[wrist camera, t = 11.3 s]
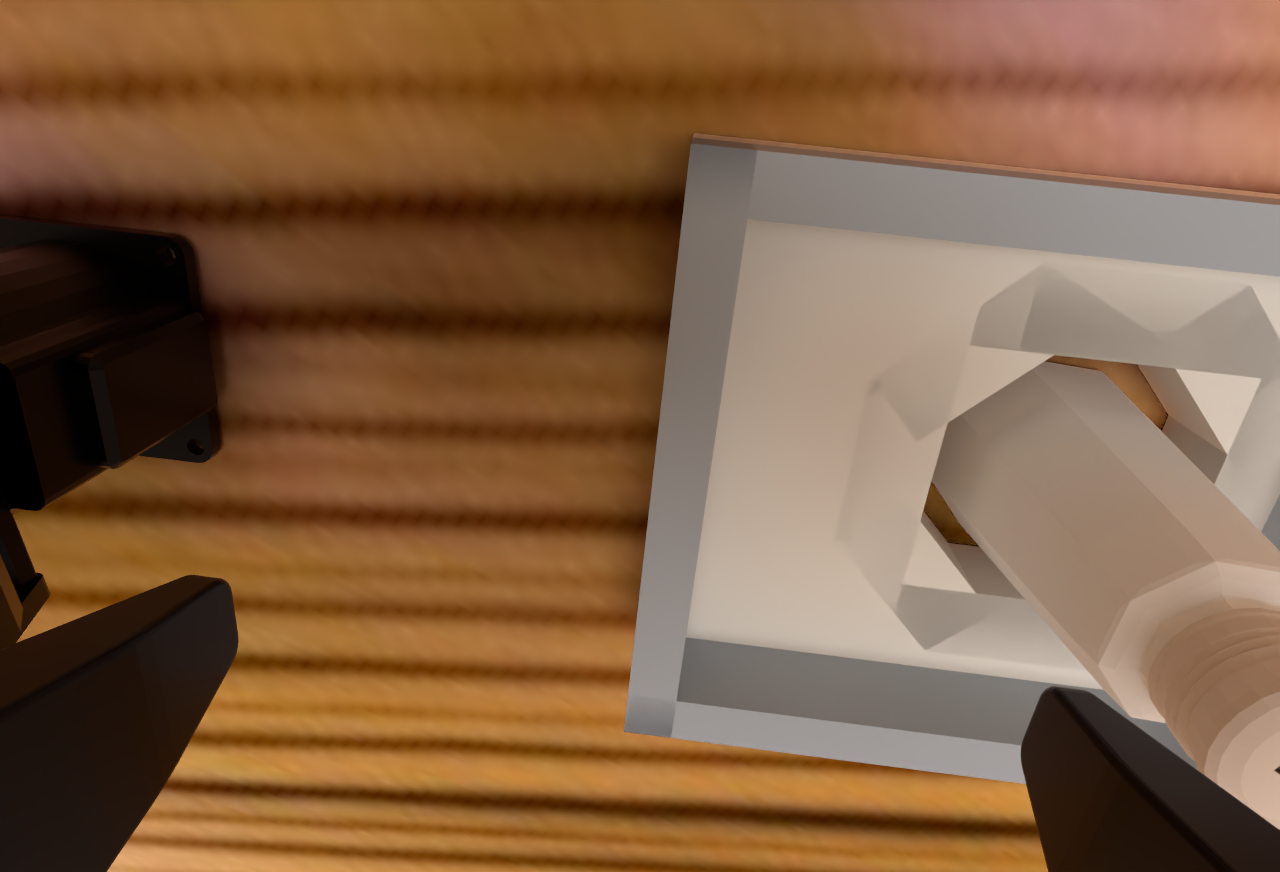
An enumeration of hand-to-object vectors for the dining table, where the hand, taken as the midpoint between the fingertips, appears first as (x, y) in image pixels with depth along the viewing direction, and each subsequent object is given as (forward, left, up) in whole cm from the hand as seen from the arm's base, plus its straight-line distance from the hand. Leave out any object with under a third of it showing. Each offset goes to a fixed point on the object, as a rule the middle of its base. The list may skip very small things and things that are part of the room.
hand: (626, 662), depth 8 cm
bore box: (+8, -2, -13) cm, 15 cm away
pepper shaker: (+10, -2, -13) cm, 17 cm away
